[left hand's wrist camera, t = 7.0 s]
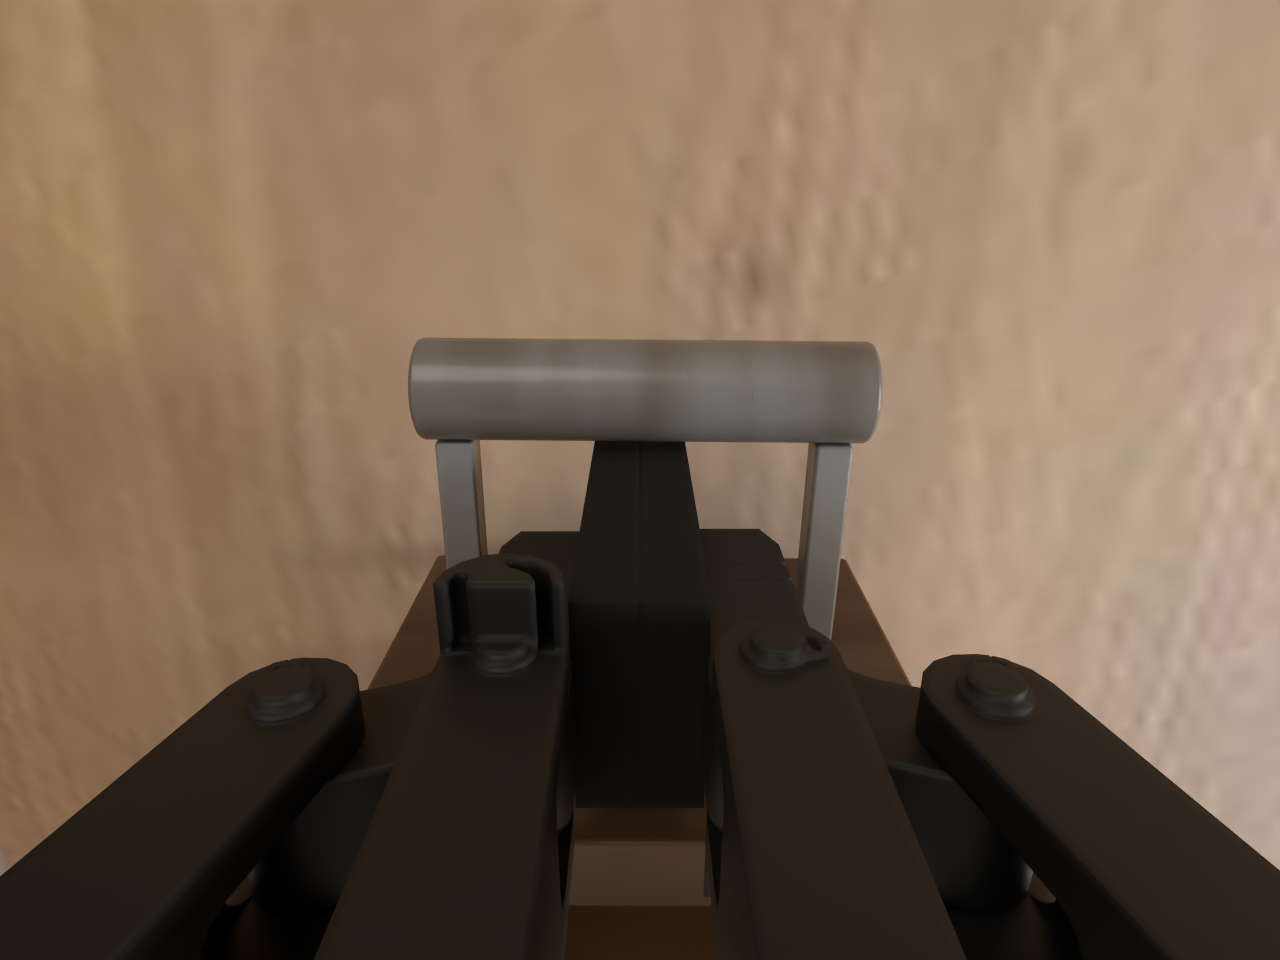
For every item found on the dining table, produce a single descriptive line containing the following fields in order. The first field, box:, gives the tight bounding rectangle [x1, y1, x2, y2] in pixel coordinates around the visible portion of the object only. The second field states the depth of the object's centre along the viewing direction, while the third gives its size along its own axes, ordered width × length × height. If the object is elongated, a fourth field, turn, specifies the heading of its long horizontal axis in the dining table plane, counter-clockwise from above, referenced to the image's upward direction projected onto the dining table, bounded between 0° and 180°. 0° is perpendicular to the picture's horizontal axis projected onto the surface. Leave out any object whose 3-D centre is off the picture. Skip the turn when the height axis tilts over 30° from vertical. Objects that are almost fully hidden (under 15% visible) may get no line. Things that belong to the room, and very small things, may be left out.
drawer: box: [368, 338, 911, 960], centre depth 16 cm, size 21×9×8 cm, turn 0°
